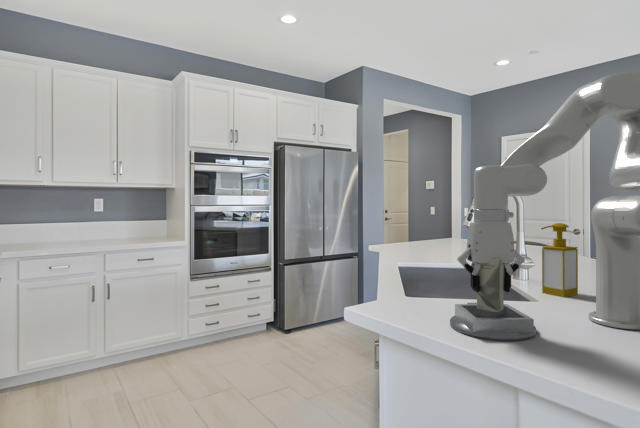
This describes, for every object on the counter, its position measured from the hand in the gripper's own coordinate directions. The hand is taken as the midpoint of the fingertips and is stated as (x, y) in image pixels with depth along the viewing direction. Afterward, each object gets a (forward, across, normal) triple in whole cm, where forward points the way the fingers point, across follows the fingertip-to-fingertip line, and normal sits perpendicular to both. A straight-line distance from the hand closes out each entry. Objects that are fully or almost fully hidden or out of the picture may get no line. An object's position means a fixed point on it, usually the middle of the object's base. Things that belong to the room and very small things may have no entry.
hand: (490, 290), depth 92 cm
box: (+5, 0, 0) cm, 5 cm away
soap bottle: (+9, -34, -34) cm, 49 cm away
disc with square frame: (+9, 0, -2) cm, 9 cm away
